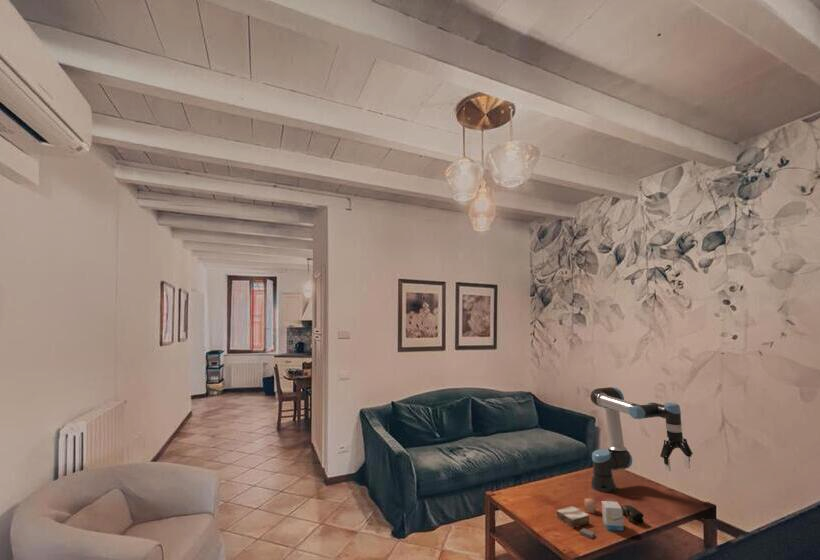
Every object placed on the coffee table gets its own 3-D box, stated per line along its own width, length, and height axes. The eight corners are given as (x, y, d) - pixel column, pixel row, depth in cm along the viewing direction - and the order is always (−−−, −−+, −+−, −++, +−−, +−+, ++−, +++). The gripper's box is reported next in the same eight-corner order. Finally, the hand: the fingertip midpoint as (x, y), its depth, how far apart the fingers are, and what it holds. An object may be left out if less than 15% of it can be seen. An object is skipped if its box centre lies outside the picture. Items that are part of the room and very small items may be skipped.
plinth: (557, 518, 223) (556, 510, 223) (572, 513, 227) (572, 505, 228) (573, 528, 212) (572, 519, 212) (589, 523, 216) (588, 514, 217)
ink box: (624, 531, 207) (622, 508, 209) (607, 530, 209) (605, 507, 210) (619, 523, 216) (617, 501, 217) (602, 522, 217) (601, 500, 219)
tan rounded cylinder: (582, 509, 232) (582, 499, 232) (590, 507, 234) (589, 497, 235) (591, 514, 226) (590, 503, 227) (598, 512, 229) (597, 501, 229)
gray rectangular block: (580, 534, 206) (580, 530, 206) (583, 531, 209) (583, 528, 209) (591, 539, 202) (591, 535, 202) (595, 536, 204) (594, 532, 204)
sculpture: (617, 514, 225) (616, 501, 226) (626, 512, 227) (625, 500, 227) (635, 526, 213) (634, 513, 213) (645, 524, 214) (644, 511, 215)
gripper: (662, 434, 218) (665, 474, 216) (697, 430, 223) (701, 468, 221) (651, 431, 225) (654, 469, 223) (685, 427, 231) (689, 464, 229)
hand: (677, 469), depth 222 cm, fingers open, 13 cm apart
